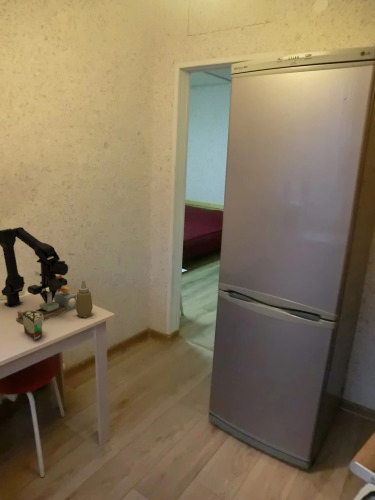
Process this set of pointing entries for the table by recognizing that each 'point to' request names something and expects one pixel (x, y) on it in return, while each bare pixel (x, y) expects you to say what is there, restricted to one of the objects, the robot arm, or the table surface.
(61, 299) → the cabinet
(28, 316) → the food container
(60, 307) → the slide rail
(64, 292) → the brown rounded piece
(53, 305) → the carriage
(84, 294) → the squeeze bottle
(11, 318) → the table surface
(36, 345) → the table surface
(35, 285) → the robot arm
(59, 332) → the table surface
